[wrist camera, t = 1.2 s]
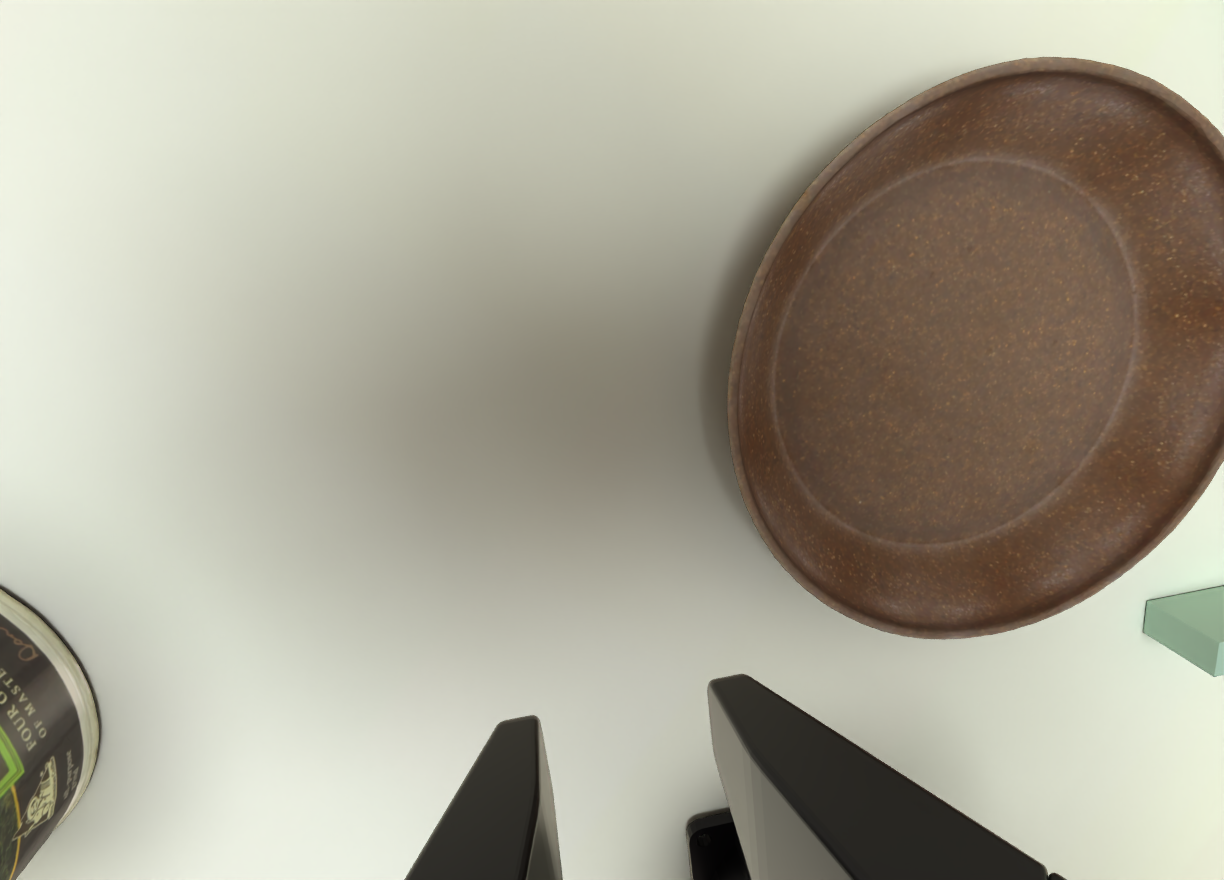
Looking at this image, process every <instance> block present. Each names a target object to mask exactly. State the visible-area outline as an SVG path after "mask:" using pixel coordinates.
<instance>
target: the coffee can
mask: <svg viewBox="0 0 1224 880" xmlns="http://www.w3.org/2000/svg"><path fill="white" fill-rule="evenodd" d="M98 742H99V723H98V718H97V713H96V708H95V703H94V700H93V696H92V693H91V690H90V688H89V685H88V683H87V680H86V678H85V676H84V674H83V672H82V670H81V668H80V667H79V665H78V663H77V661H76V660H75V658H74V657H73V655H72V654H71V653H70V651H69V650H68V648H67V647H66V646H65V644H64V643H63V642H62V640H61V639H60V638H59V637H58V636H57V635H56V633H55V632H54V631H53V630H52V629H51V628H50V627H49V626H48V625H47V624H46V623H45V622H44V621H43V620H42V619H41V618H39V617H38V616H37V615H36V614H35V613H34V612H33V611H32V610H30V609H29V608H27V607H26V606H24V605H23V604H21V603H20V602H18V601H17V600H15V599H14V598H12V597H11V596H9V595H8V594H7V593H5V592H4V591H3V590H2V589H0V880H16V878H17V877H18V876H19V874H20V873H21V872H22V871H23V869H24V868H25V867H26V866H27V864H28V863H29V862H30V860H31V859H32V858H33V856H34V855H35V854H36V852H37V851H38V850H39V849H40V847H41V846H42V845H43V844H44V842H45V841H46V840H47V839H48V837H49V836H50V834H51V833H52V831H54V830H55V829H56V828H57V827H58V826H59V825H60V824H61V823H62V822H63V821H64V820H65V819H66V817H67V816H68V815H69V814H70V813H71V811H72V810H73V809H74V807H75V806H76V804H77V803H78V801H79V800H80V798H81V796H82V795H83V793H84V791H85V789H86V787H87V785H88V783H89V780H90V778H91V775H92V772H93V769H94V767H95V763H96V758H97V751H98Z"/></svg>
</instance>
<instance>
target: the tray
mask: <svg viewBox="0 0 1224 880" xmlns="http://www.w3.org/2000/svg"><path fill="white" fill-rule="evenodd" d="M1144 633H1145V634H1147V635H1148V636H1150V637H1151V638H1153V639H1155V640H1156V641H1158V642H1159V643H1161V644H1163V645H1164V646H1166V647H1167V648H1169V649H1170V650H1172V651H1174V652H1175V653H1177V654H1178V655H1180V656H1182V657H1183V658H1185V659H1186V660H1188V661H1190V662H1191V663H1193V664H1194V665H1196V666H1197V667H1199V668H1201V669H1202V670H1204V671H1205V672H1207V673H1209V674H1210V675H1212V676H1213V677H1216V676H1221V675H1224V586H1221V587H1216V588H1211V589H1206V590H1201V591H1196V592H1191V593H1185V594H1180V595H1175V596H1170V597H1165V598H1160V599H1155V600H1150V601H1147V607H1146V615H1145V623H1144Z"/></svg>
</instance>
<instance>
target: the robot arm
mask: <svg viewBox="0 0 1224 880" xmlns="http://www.w3.org/2000/svg"><path fill="white" fill-rule="evenodd" d="M707 693H708V704H709V715H710V725H711V735H712V745H713V751H714V756H715V761H716V765H717V768H718V771H719V775H720V778H721V781H722V784H723V788H724V791H725V794H726V798H727V801H728V804H729V807H730V811H731V812H728V813H723V814H719V815H714V816H709V817H705V818H700V819H697V820H695V821H693V822H692V823H691V824H689V826H688V828H687V830H686V837H687V846H688V855H689V864H690V872H691V880H1067V879H1065V878H1063V877H1062V876H1060V875H1059V874H1057V873H1051V874H1050V875H1049V877H1048V872H1047V869H1046V867H1045V866H1044V865H1043V864H1041V863H1039V862H1038V861H1036V860H1035V859H1033V858H1032V857H1030V856H1029V855H1027V854H1025V853H1024V852H1022V851H1021V850H1019V849H1018V848H1016V847H1014V846H1013V845H1011V844H1010V843H1008V842H1007V841H1005V840H1004V839H1002V838H1000V837H999V836H997V835H996V834H994V833H993V832H991V831H990V830H988V829H986V828H985V827H983V826H982V825H980V824H979V823H977V822H976V821H974V820H972V819H971V818H969V817H968V816H966V815H965V814H963V813H962V812H960V811H958V810H957V809H955V808H954V807H952V806H951V805H949V804H948V803H946V802H944V801H943V800H941V799H940V798H938V797H937V796H935V795H933V794H932V793H930V792H929V791H927V790H926V789H924V788H923V787H921V786H919V785H918V784H916V783H915V782H913V781H912V780H910V779H909V778H907V777H905V776H904V775H902V774H901V773H899V772H898V771H896V770H895V769H893V768H891V767H890V766H888V765H887V764H885V763H884V762H882V761H881V760H879V759H877V758H876V757H874V756H873V755H871V754H870V753H868V752H867V751H865V750H863V749H862V748H860V747H859V746H857V745H856V744H854V743H852V742H851V741H849V740H848V739H846V738H845V737H843V736H842V735H840V734H838V733H837V732H835V731H834V730H832V729H831V728H829V727H828V726H826V725H824V724H823V723H821V722H820V721H818V720H817V719H815V718H814V717H812V716H810V715H809V714H807V713H806V712H804V711H803V710H801V709H800V708H798V707H796V706H795V705H793V704H792V703H790V702H789V701H787V700H786V699H784V698H782V697H781V696H779V695H778V694H776V693H775V692H773V691H772V690H770V689H768V688H767V687H765V686H764V685H762V684H761V683H759V682H757V681H756V680H754V679H753V678H751V677H750V676H748V675H745V674H738V675H733V676H728V677H722V678H717V679H713V680H711V681H710V682H709V684H708V689H707ZM703 834H706V835H704V836H702V837H699V836H701V835H703ZM404 880H563V878H562V869H561V860H560V851H559V842H558V833H557V824H556V814H555V805H554V797H553V789H552V783H551V777H550V771H549V766H548V760H547V755H546V750H545V744H544V739H543V733H542V728H541V723H540V720H539V718H538V717H537V716H535V715H530V716H525V717H520V718H515V719H509V720H505V721H502V722H500V723H499V724H498V725H497V726H496V728H495V730H494V731H493V733H492V735H491V736H490V738H489V740H488V741H487V743H486V745H485V746H484V748H483V749H482V751H481V753H480V754H479V756H478V758H477V759H476V761H475V763H474V764H473V766H472V768H471V769H470V771H469V773H468V774H467V776H466V778H465V779H464V781H463V783H462V784H461V786H460V788H459V789H458V791H457V793H456V794H455V796H454V798H453V799H452V801H451V803H450V804H449V806H448V808H447V809H446V811H445V813H444V814H443V816H442V818H441V819H440V821H439V823H438V824H437V826H436V828H435V829H434V831H433V833H432V834H431V836H430V838H429V839H428V841H427V843H426V844H425V846H424V848H423V849H422V851H421V853H420V854H419V856H418V858H417V859H416V861H415V863H414V864H413V866H412V868H411V869H410V871H409V873H408V874H407V876H406V878H405V879H404Z"/></svg>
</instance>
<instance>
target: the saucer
mask: <svg viewBox="0 0 1224 880" xmlns="http://www.w3.org/2000/svg"><path fill="white" fill-rule="evenodd" d="M727 415H728V432H729V441H730V448H731V454H732V460H733V465H734V470H735V474H736V477H737V481H738V485H739V488H740V491H741V494H742V497H743V500H744V503H745V505H746V507H747V509H748V511H749V513H750V516H751V518H752V520H753V523H754V524H755V526H756V528H757V530H758V532H759V533H760V535H761V537H762V539H763V540H764V542H765V543H766V545H767V546H768V548H769V549H770V551H771V552H772V554H773V555H774V557H775V558H776V559H777V560H778V561H779V563H780V564H781V565H782V566H783V568H784V569H785V570H786V571H787V572H788V573H789V574H790V575H791V576H792V577H793V578H794V579H795V580H796V581H797V582H798V583H799V584H800V585H801V586H802V587H804V588H805V589H806V590H807V591H808V592H810V593H811V594H812V595H814V596H815V597H816V598H817V599H819V600H820V601H821V602H823V603H824V604H826V605H827V606H829V607H830V608H832V609H834V610H835V611H838V612H840V613H841V614H843V615H845V616H847V617H849V618H851V619H853V620H855V621H857V622H859V623H862V624H865V625H867V626H869V627H872V628H876V629H879V630H880V631H884V632H888V633H892V634H898V635H901V636H907V637H914V638H923V639H961V638H971V637H979V636H984V635H993V634H997V633H1002V632H1006V631H1010V630H1014V629H1017V628H1020V627H1023V626H1027V625H1030V624H1033V623H1036V622H1039V621H1041V620H1044V619H1046V618H1049V617H1051V616H1054V615H1056V614H1058V613H1061V612H1063V611H1065V610H1067V609H1069V608H1071V607H1073V606H1075V605H1076V604H1078V603H1080V602H1082V601H1084V600H1085V599H1087V598H1089V597H1091V596H1093V595H1094V594H1096V593H1097V592H1099V591H1100V590H1102V589H1103V588H1104V587H1106V586H1107V585H1109V584H1110V583H1112V582H1114V581H1115V580H1116V579H1118V578H1119V577H1121V576H1122V575H1123V574H1124V573H1125V572H1127V571H1128V570H1130V569H1131V568H1132V567H1133V566H1135V565H1136V564H1137V563H1138V562H1139V561H1140V560H1142V559H1143V558H1144V557H1146V556H1147V555H1148V554H1149V553H1150V552H1151V551H1152V550H1153V549H1154V548H1156V547H1157V546H1158V545H1159V544H1160V543H1161V542H1162V541H1163V540H1164V539H1165V538H1166V537H1167V536H1168V535H1169V534H1170V533H1171V532H1172V531H1173V530H1174V529H1175V528H1176V526H1177V525H1178V524H1179V523H1180V522H1181V521H1182V519H1183V518H1184V517H1185V516H1186V515H1187V513H1188V512H1189V511H1190V510H1191V508H1192V507H1193V506H1194V504H1195V503H1196V502H1197V500H1198V499H1199V498H1200V497H1201V495H1202V494H1203V493H1204V491H1205V490H1206V488H1207V487H1208V485H1209V484H1210V482H1211V481H1212V479H1213V477H1214V476H1215V474H1216V472H1217V470H1218V469H1219V467H1220V466H1221V464H1222V463H1223V461H1224V137H1223V135H1222V134H1221V133H1220V131H1219V130H1218V129H1217V128H1216V127H1215V126H1214V125H1212V123H1211V122H1210V121H1209V120H1208V119H1207V118H1206V117H1205V116H1204V115H1202V114H1201V113H1200V112H1199V111H1198V110H1197V109H1196V108H1194V107H1193V106H1192V105H1191V104H1190V103H1188V102H1187V101H1186V100H1185V99H1183V98H1182V97H1181V96H1180V95H1178V94H1176V93H1175V92H1173V91H1171V90H1170V89H1168V88H1167V87H1165V86H1164V85H1162V84H1161V83H1159V82H1157V81H1155V80H1153V79H1151V78H1149V77H1146V76H1144V75H1141V74H1139V73H1136V72H1134V71H1132V70H1129V69H1125V68H1122V67H1118V66H1115V65H1111V64H1106V63H1101V62H1096V61H1092V60H1085V59H1077V58H1061V57H1039V58H1024V59H1020V60H1014V61H1009V62H1003V63H999V64H995V65H991V66H987V67H984V68H980V69H977V70H974V71H971V72H968V73H965V74H962V75H960V76H958V77H955V78H953V79H950V80H948V81H946V82H944V83H941V84H939V85H937V86H935V87H933V88H931V89H929V90H927V91H925V92H923V93H921V94H919V95H917V96H915V97H913V98H912V99H910V100H908V101H907V102H906V103H904V104H903V105H901V106H899V107H897V108H896V109H895V110H893V111H891V112H890V113H888V114H886V115H885V116H884V117H883V118H881V119H880V120H878V121H876V122H875V123H874V124H873V125H871V126H870V127H869V128H867V129H866V130H865V131H864V132H862V133H861V134H860V135H859V136H858V137H857V138H855V139H854V140H853V141H852V142H851V143H850V144H849V145H848V146H847V147H846V148H844V149H843V150H842V151H841V152H840V153H839V154H838V155H837V156H836V157H835V158H834V159H833V161H832V162H831V163H830V164H829V165H827V166H826V167H825V168H824V169H823V171H822V172H821V173H820V174H819V175H818V176H817V178H816V179H815V180H814V181H813V182H812V183H811V184H810V185H809V187H808V188H807V189H806V191H805V192H804V193H803V195H802V196H801V197H800V199H799V200H798V201H797V203H796V204H795V205H794V207H793V208H792V210H791V211H790V213H789V214H788V216H787V218H786V219H785V221H784V222H783V224H782V225H781V227H780V229H779V231H778V233H777V234H776V236H775V238H774V240H773V241H772V243H771V245H770V246H769V248H768V250H767V251H766V254H765V256H764V258H763V260H762V262H761V264H760V266H759V269H758V271H757V273H756V275H755V277H754V280H753V283H752V285H751V288H750V291H749V293H748V296H747V298H746V301H745V304H744V307H743V311H742V315H741V317H740V319H739V323H738V327H737V332H736V337H735V341H734V346H733V350H732V357H731V364H730V370H729V378H728V401H727Z"/></svg>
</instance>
